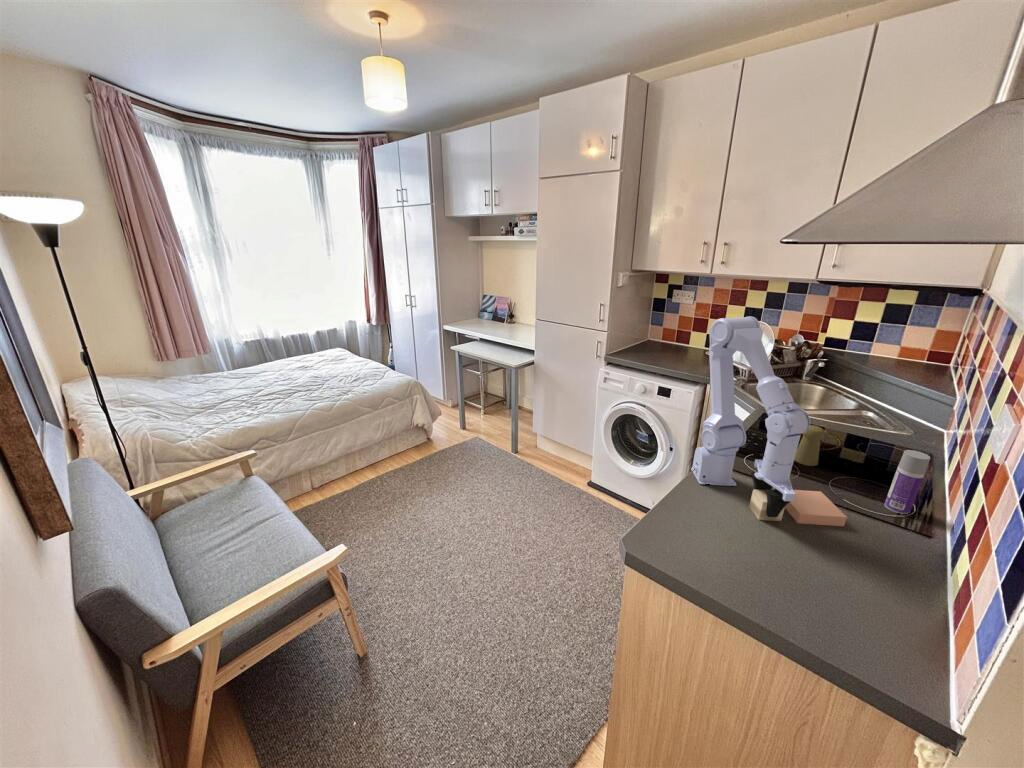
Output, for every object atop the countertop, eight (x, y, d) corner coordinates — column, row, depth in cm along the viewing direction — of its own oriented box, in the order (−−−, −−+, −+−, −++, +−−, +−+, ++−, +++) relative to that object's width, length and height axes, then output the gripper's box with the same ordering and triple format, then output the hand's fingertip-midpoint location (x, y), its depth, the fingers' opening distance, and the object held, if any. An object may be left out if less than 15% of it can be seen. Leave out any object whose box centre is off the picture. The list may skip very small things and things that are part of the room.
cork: (810, 456, 124) (819, 423, 120) (822, 466, 118) (832, 432, 114) (789, 455, 124) (797, 422, 120) (800, 465, 118) (809, 431, 115)
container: (915, 514, 97) (937, 459, 92) (895, 514, 97) (916, 459, 92) (897, 502, 102) (917, 449, 97) (878, 502, 102) (898, 449, 97)
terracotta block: (797, 524, 95) (800, 513, 94) (775, 498, 104) (778, 488, 103) (843, 528, 94) (847, 517, 93) (817, 501, 103) (820, 491, 102)
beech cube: (758, 519, 96) (763, 501, 94) (749, 506, 100) (753, 489, 99) (781, 521, 95) (785, 503, 94) (770, 507, 100) (774, 490, 98)
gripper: (745, 442, 100) (735, 490, 105) (776, 475, 86) (762, 527, 91) (776, 444, 99) (764, 491, 104) (811, 477, 86) (796, 529, 90)
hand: (765, 508), depth 97 cm, fingers closed on beech cube, 5 cm apart
